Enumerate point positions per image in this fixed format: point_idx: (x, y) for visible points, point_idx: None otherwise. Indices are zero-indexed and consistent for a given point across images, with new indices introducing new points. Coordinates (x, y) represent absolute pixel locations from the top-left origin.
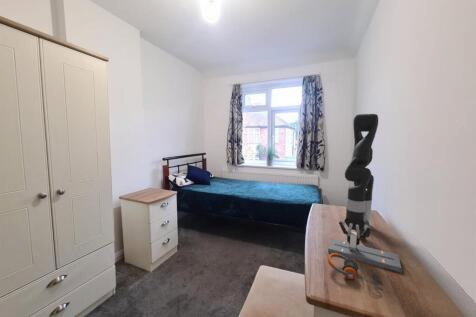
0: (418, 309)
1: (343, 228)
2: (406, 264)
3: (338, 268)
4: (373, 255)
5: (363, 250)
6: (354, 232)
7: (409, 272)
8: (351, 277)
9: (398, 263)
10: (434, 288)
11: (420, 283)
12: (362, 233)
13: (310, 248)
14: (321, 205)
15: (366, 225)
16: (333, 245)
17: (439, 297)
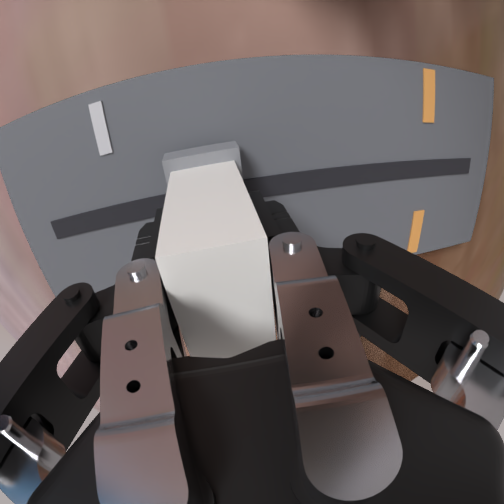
0: (415, 373)
1: (81, 415)
2: (493, 121)
3: None
4: (371, 194)
5: (299, 155)
6: (223, 262)
7: (482, 199)
8: None
9: (474, 201)
10: (501, 256)
11: (481, 258)
12: (367, 275)
13: (4, 320)
14: None
15: (499, 418)
16: (62, 256)
17: (488, 293)
